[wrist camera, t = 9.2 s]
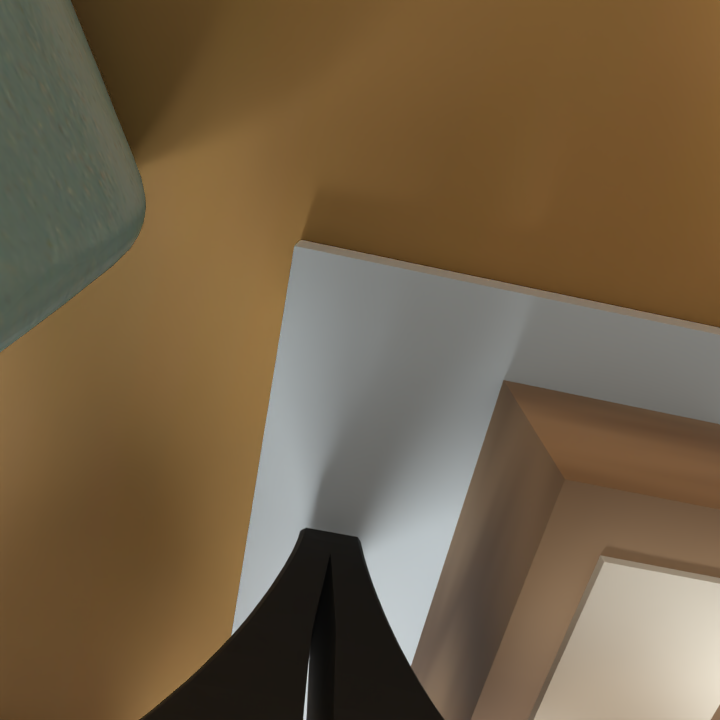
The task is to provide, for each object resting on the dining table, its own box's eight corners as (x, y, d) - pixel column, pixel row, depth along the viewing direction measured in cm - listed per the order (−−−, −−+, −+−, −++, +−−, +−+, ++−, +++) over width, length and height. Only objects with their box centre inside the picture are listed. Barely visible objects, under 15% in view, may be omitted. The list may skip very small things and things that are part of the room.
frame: (569, 732, 15) (636, 923, 12) (399, 702, 15) (408, 888, 11) (718, 424, 12) (884, 546, 8) (503, 380, 12) (568, 485, 8)
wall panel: (660, 766, 17) (740, 933, 14) (225, 693, 17) (182, 848, 13) (891, 363, 13) (1113, 447, 9) (300, 239, 12) (267, 273, 8)
